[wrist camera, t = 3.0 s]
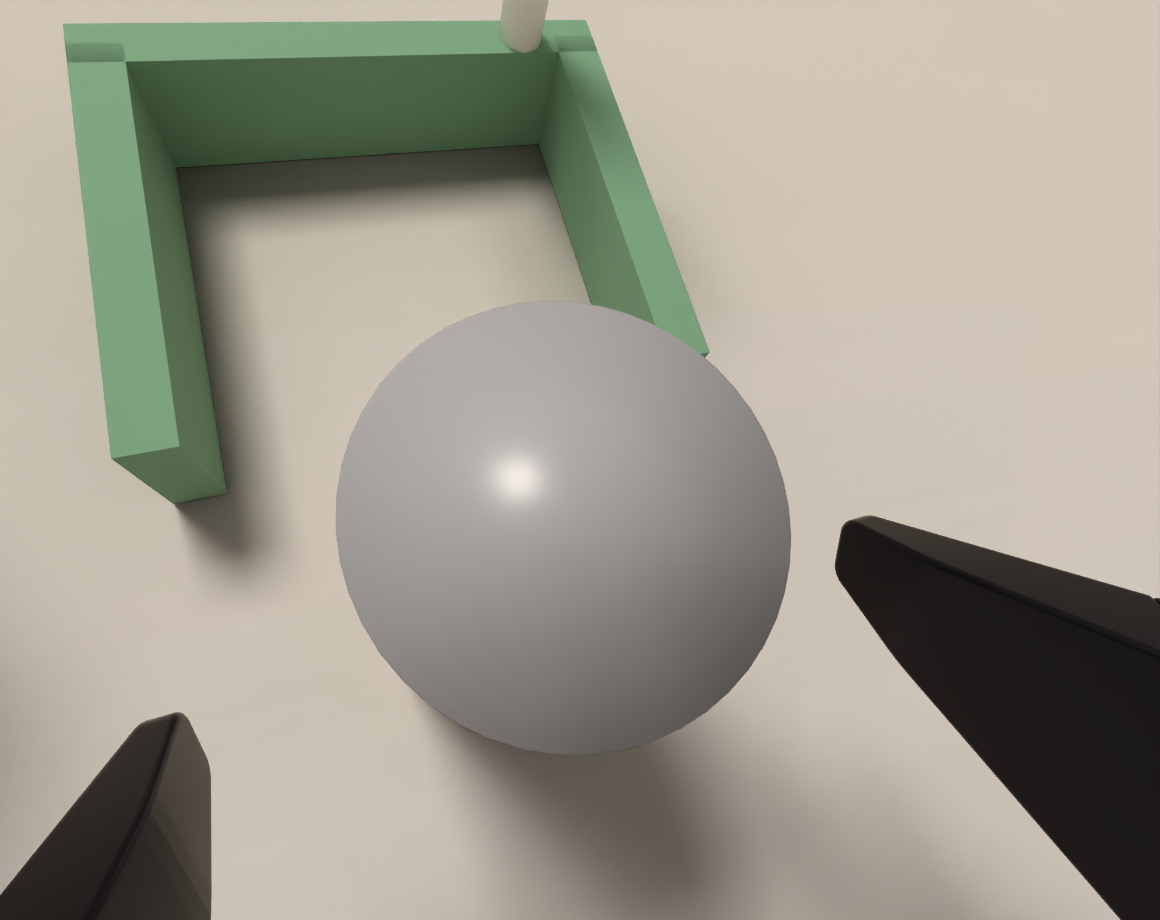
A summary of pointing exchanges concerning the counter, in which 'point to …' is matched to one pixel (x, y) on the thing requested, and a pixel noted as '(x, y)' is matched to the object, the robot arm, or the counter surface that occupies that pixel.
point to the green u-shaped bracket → (324, 130)
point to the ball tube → (563, 527)
